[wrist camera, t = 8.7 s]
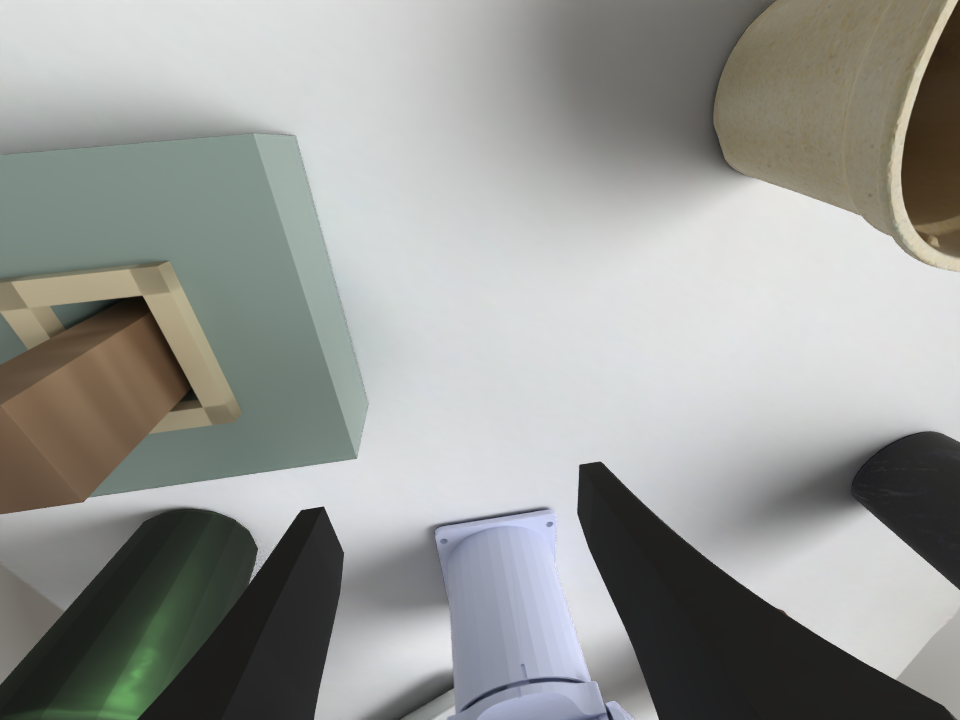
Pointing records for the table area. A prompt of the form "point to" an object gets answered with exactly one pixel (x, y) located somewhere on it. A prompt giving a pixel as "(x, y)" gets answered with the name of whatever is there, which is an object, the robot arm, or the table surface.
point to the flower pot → (854, 113)
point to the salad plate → (435, 708)
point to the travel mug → (918, 496)
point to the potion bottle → (135, 621)
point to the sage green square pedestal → (192, 294)
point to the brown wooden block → (83, 405)
